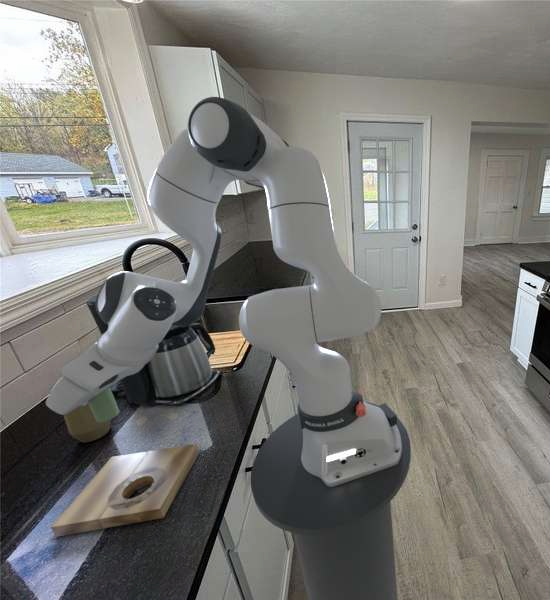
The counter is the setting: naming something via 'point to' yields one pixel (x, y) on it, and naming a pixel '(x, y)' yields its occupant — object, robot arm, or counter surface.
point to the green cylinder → (104, 406)
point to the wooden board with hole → (128, 490)
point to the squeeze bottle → (85, 424)
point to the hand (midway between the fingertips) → (95, 394)
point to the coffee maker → (169, 366)
